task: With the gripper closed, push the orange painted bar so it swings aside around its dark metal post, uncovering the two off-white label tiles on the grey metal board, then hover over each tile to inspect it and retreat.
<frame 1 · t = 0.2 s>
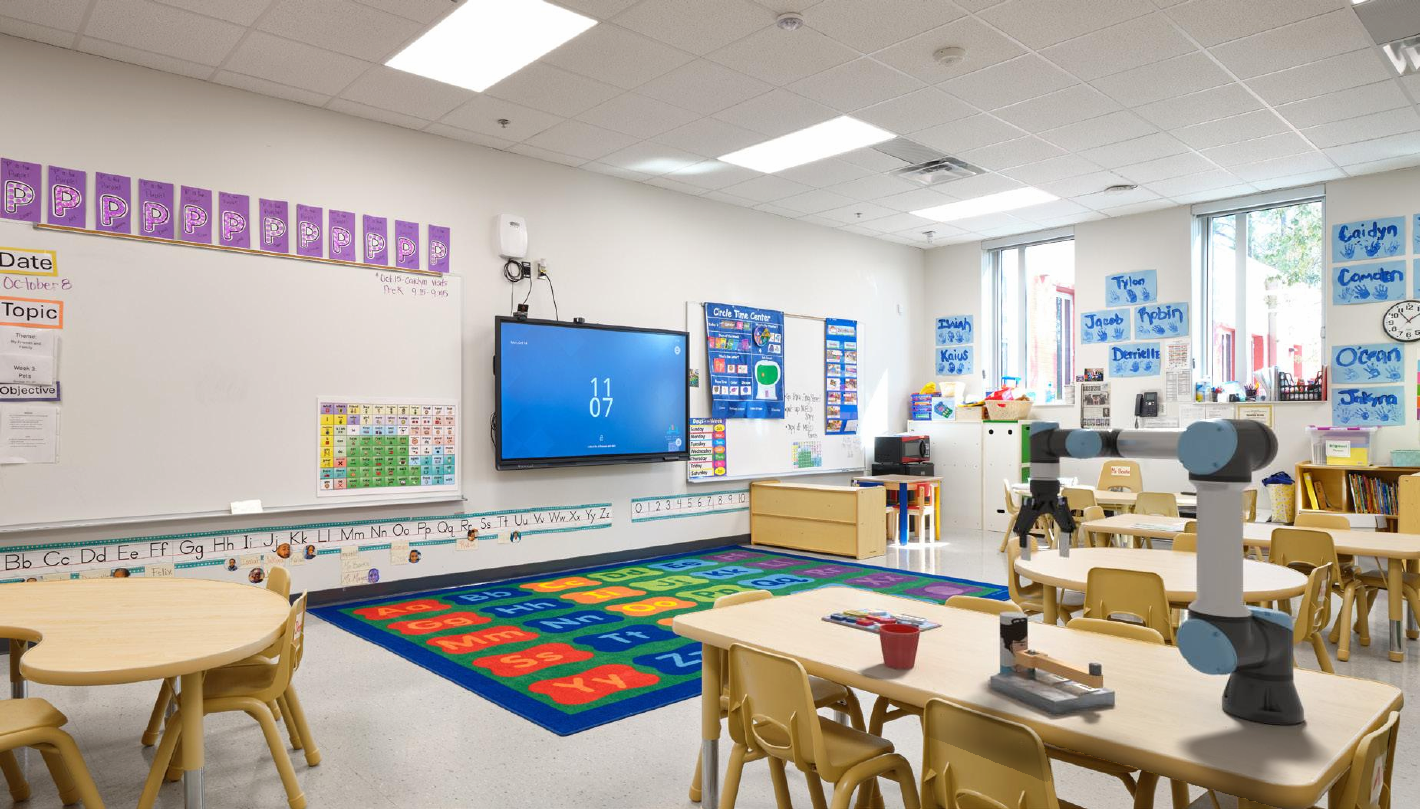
hand: (1045, 558, 224), 28 cm above the table, fingers open, 13 cm apart
puzzle board: (880, 625, 268), on the table
flower pot: (899, 665, 221), on the table
board: (1050, 696, 196), on the table
bar: (1059, 663, 197), point 7 cm above the table, hinge at 0.0°
printed cylinder: (1013, 674, 213), on the table
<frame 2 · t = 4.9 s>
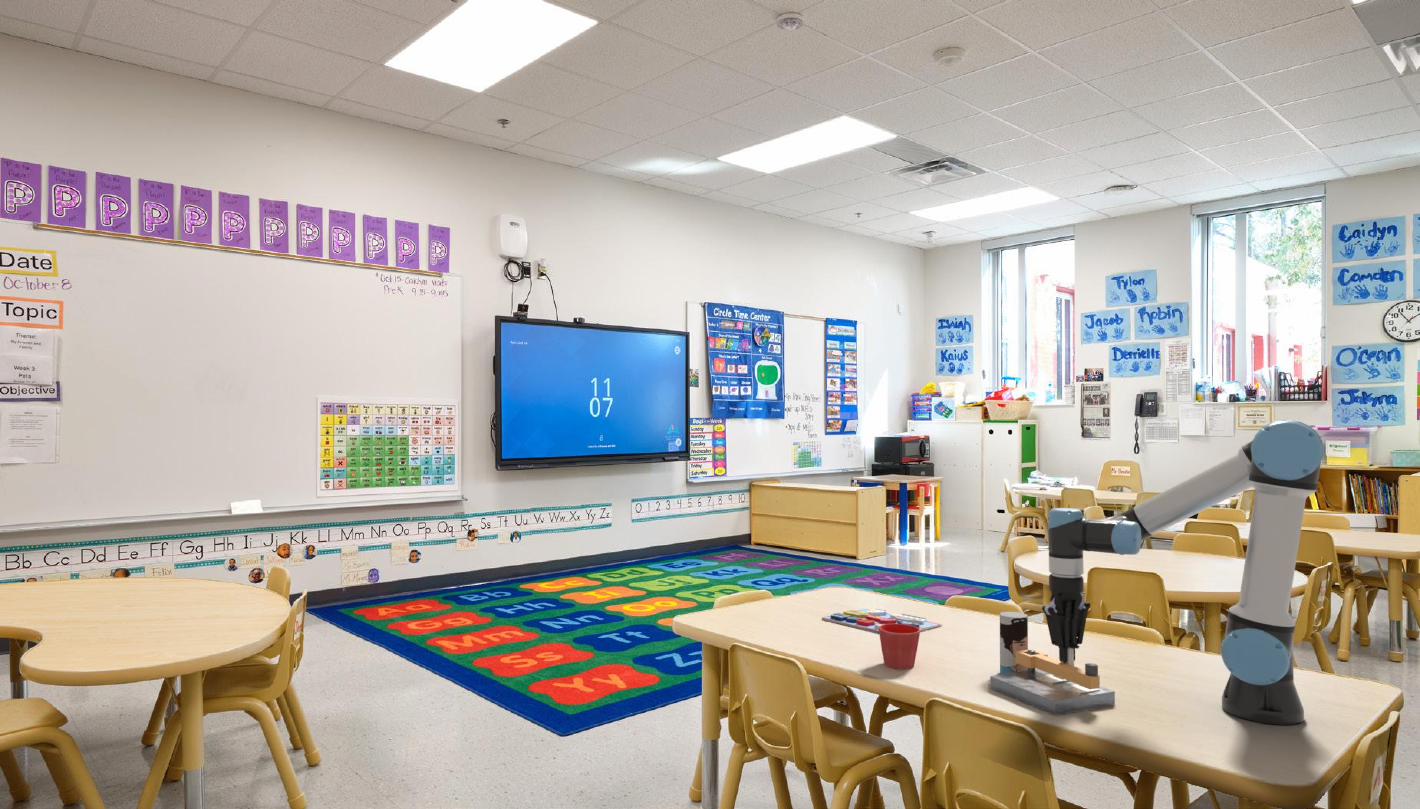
hand: (1067, 675, 197), 5 cm above the table, fingers closed
bar: (1058, 663, 197), point 7 cm above the table, hinge at 3.3°, touching gripper
everything else where it was.
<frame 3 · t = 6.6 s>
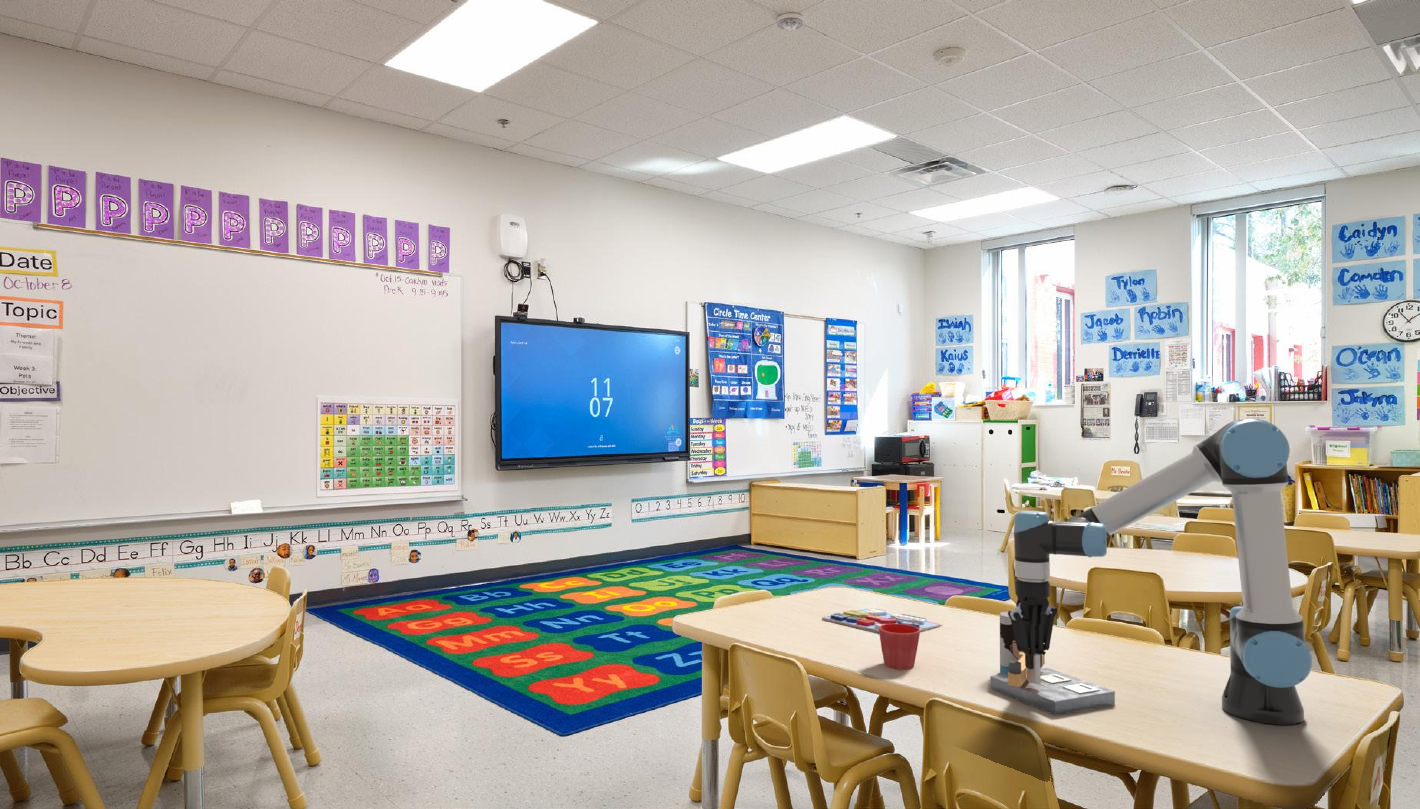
hand: (1033, 681, 192), 4 cm above the table, fingers closed
bar: (1024, 662, 198), point 7 cm above the table, hinge at 55.1°, touching gripper
everything else where it was.
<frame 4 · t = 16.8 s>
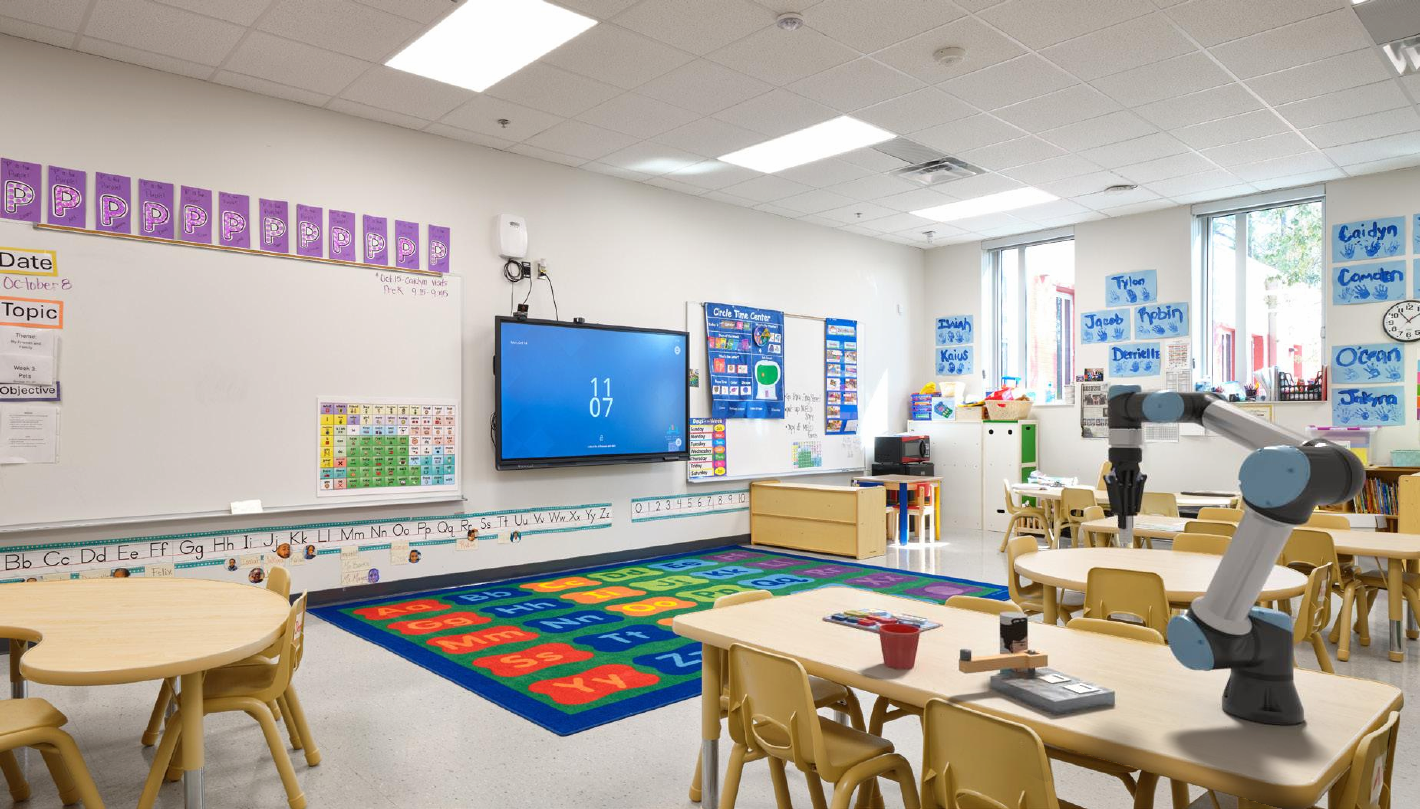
hand: (1125, 541, 208), 34 cm above the table, fingers closed
bar: (1001, 657, 202), point 7 cm above the table, hinge at 94.7°
everything else where it was.
at the end: bar at +95° (first picture: +0°) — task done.
